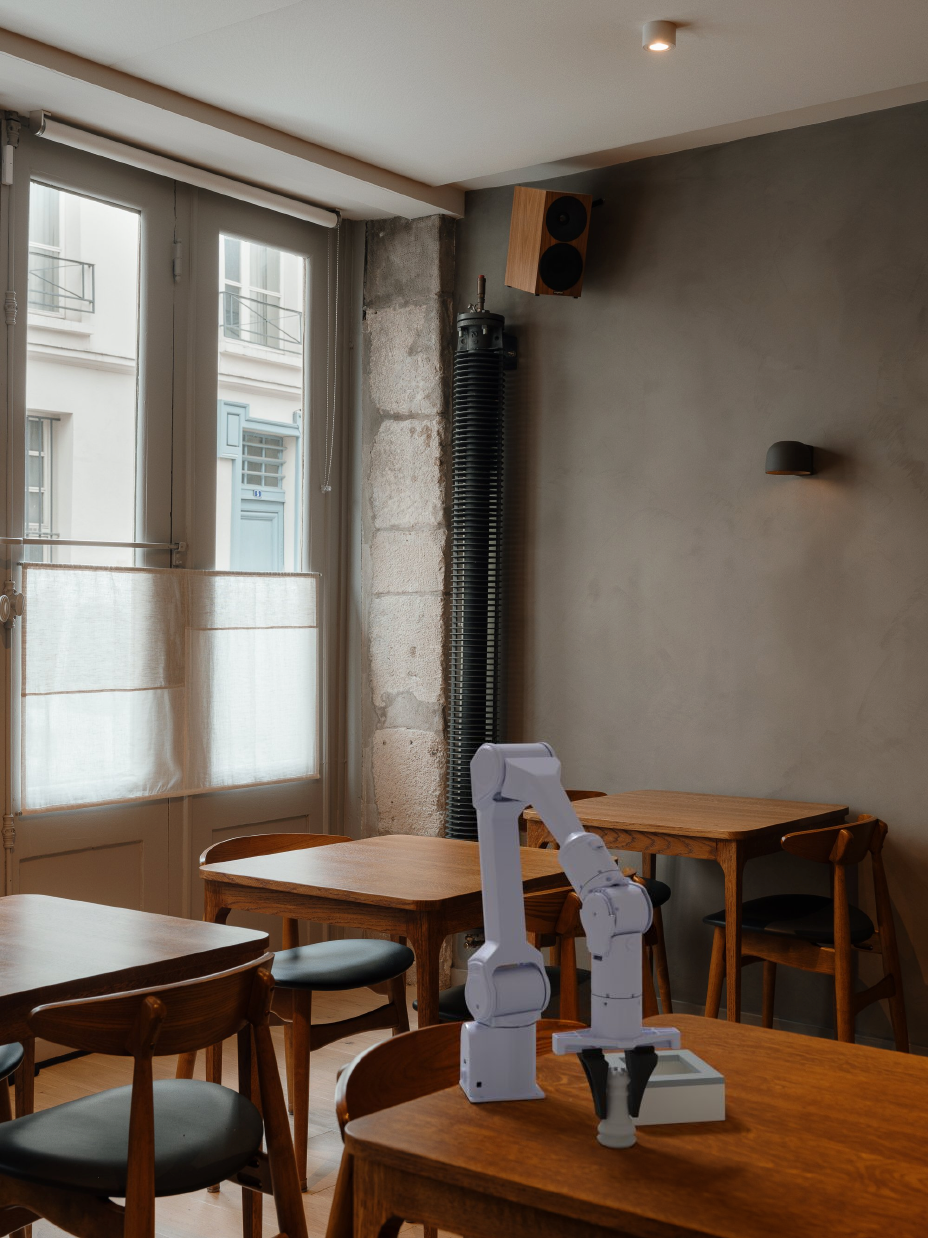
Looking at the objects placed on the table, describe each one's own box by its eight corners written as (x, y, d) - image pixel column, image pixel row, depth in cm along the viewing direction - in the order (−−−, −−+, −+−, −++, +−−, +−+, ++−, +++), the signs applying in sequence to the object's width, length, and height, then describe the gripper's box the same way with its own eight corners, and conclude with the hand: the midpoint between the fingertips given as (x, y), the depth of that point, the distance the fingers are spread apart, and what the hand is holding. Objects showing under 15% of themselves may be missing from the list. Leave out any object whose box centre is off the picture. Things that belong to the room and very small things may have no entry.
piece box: (628, 1126, 148) (628, 1082, 148) (597, 1094, 160) (597, 1054, 160) (724, 1120, 150) (724, 1077, 150) (687, 1089, 162) (687, 1049, 162)
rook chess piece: (635, 1151, 140) (635, 1077, 140) (595, 1148, 141) (594, 1074, 141) (638, 1137, 144) (637, 1065, 145) (598, 1134, 145) (598, 1063, 145)
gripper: (564, 1004, 138) (564, 1131, 137) (690, 998, 141) (690, 1123, 140) (547, 989, 145) (547, 1111, 144) (667, 984, 148) (668, 1103, 147)
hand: (616, 1116), depth 143 cm, fingers closed on rook chess piece, 3 cm apart
